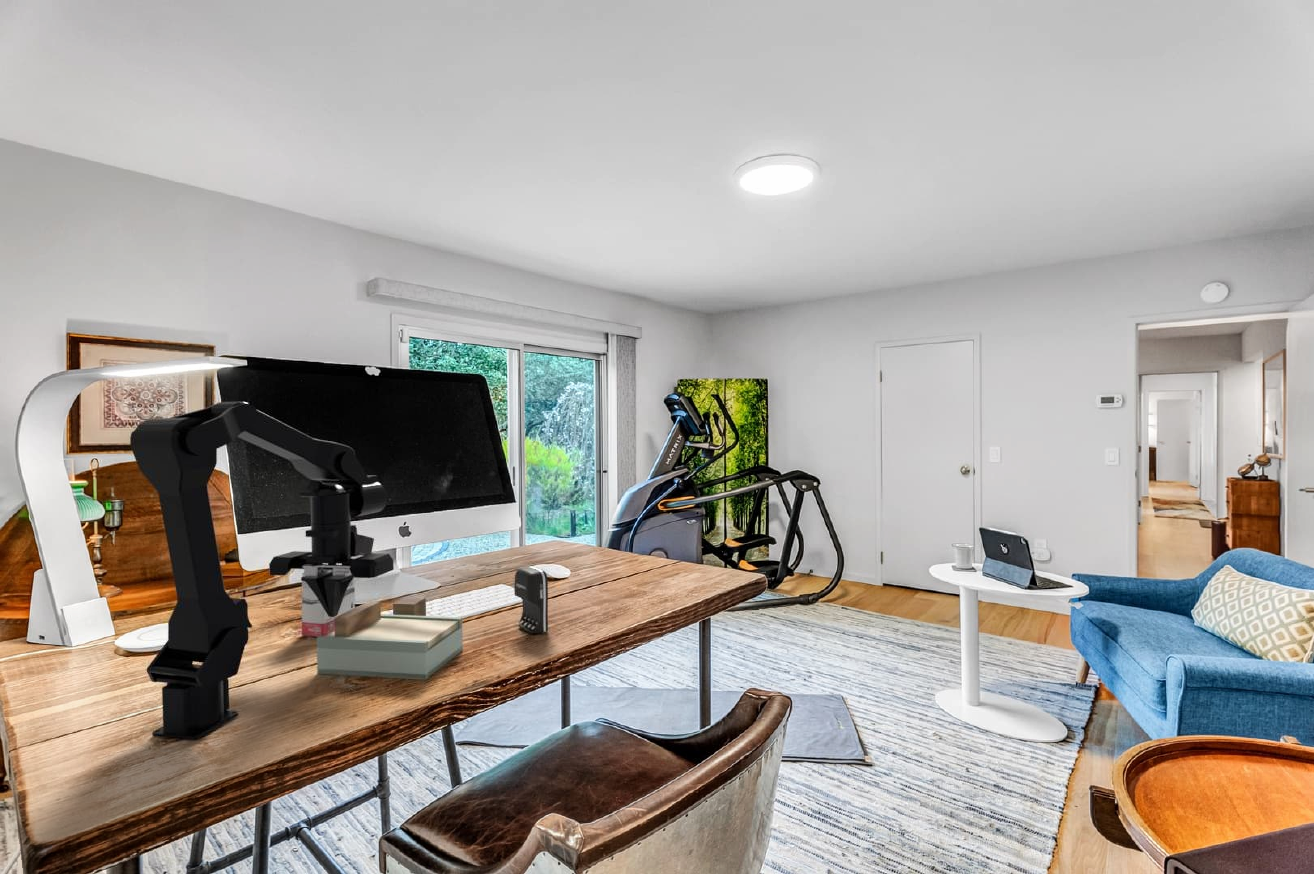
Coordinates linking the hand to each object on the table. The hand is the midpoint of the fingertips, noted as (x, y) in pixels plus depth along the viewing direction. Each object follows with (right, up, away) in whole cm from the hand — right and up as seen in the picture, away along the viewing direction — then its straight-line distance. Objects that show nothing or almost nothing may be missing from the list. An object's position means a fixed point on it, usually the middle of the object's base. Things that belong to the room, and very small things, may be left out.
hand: (333, 616), depth 100 cm
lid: (+10, -3, -1) cm, 11 cm away
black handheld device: (+30, -7, +13) cm, 33 cm away
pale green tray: (+10, -7, -1) cm, 13 cm away
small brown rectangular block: (+9, -7, +9) cm, 14 cm away
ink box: (-8, -7, +15) cm, 18 cm away
